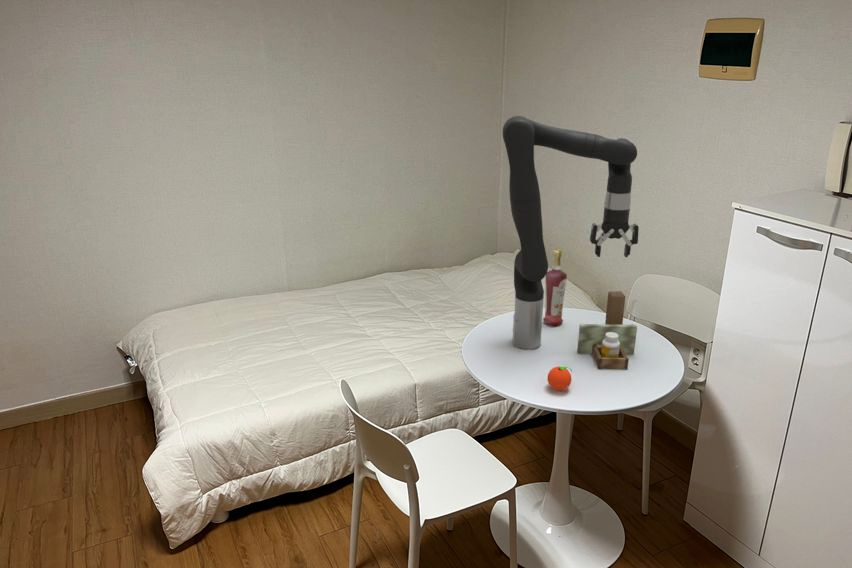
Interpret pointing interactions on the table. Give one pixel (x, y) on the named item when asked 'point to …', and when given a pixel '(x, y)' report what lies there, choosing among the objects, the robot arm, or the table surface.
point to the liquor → (555, 291)
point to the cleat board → (595, 335)
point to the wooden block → (615, 308)
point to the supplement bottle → (610, 345)
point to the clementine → (559, 378)
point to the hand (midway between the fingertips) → (612, 256)
